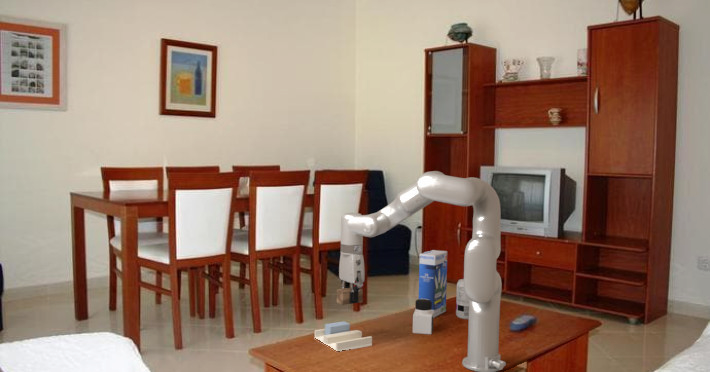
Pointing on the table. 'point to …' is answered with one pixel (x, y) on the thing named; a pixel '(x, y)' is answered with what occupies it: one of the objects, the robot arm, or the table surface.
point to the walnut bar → (347, 296)
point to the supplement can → (462, 301)
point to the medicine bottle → (423, 317)
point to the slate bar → (337, 327)
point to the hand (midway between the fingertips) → (350, 301)
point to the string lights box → (433, 279)
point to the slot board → (344, 339)
